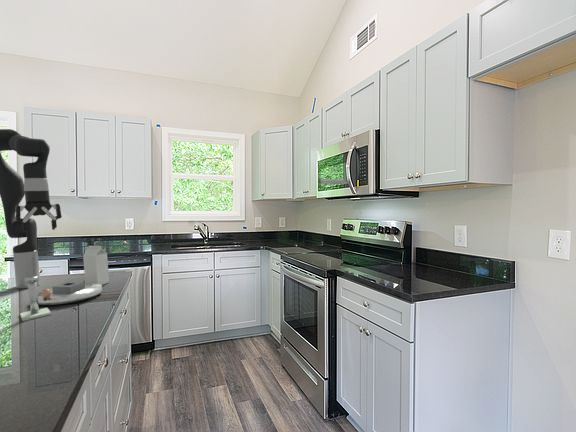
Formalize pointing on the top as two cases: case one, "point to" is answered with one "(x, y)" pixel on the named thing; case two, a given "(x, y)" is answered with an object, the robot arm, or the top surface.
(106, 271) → the milk carton
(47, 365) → the top surface
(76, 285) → the light grey disc
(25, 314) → the pad
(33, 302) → the metal pin
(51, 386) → the top surface
